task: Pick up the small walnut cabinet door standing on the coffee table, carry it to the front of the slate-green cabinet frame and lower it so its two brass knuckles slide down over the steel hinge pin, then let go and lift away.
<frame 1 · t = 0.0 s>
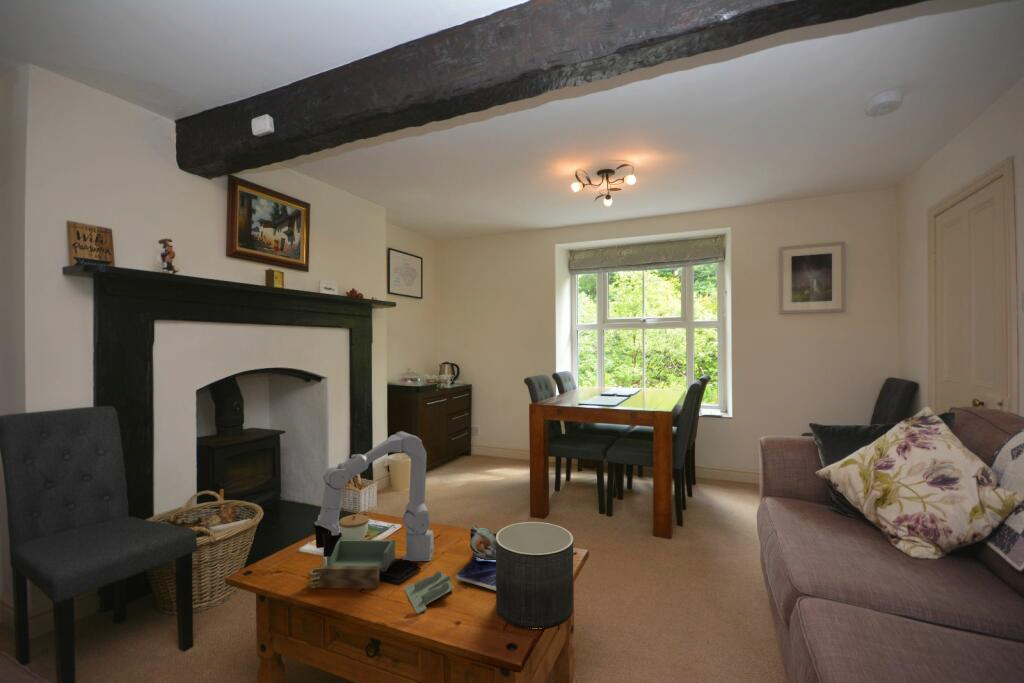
hand: (323, 551, 145), 11 cm above the table, tool pointing down, fingers open, 7 cm apart
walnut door: (349, 586, 144), on the table
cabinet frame: (361, 565, 158), on the table
lucky cat figurine: (489, 560, 162), on the table
planter: (534, 607, 133), on the table
lidded jar: (353, 540, 178), on the table
metal bracket: (430, 597, 139), on the table
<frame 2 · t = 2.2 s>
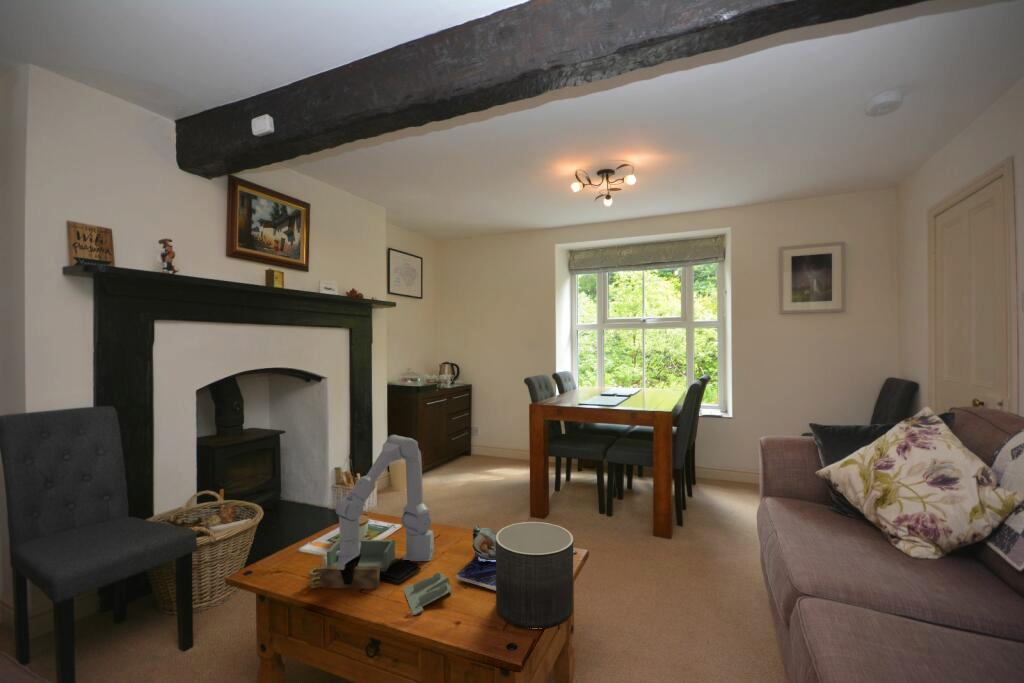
hand: (349, 581, 144), 1 cm above the table, tool pointing down, fingers closed on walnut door, 2 cm apart
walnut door: (349, 586, 144), on the table, touching gripper
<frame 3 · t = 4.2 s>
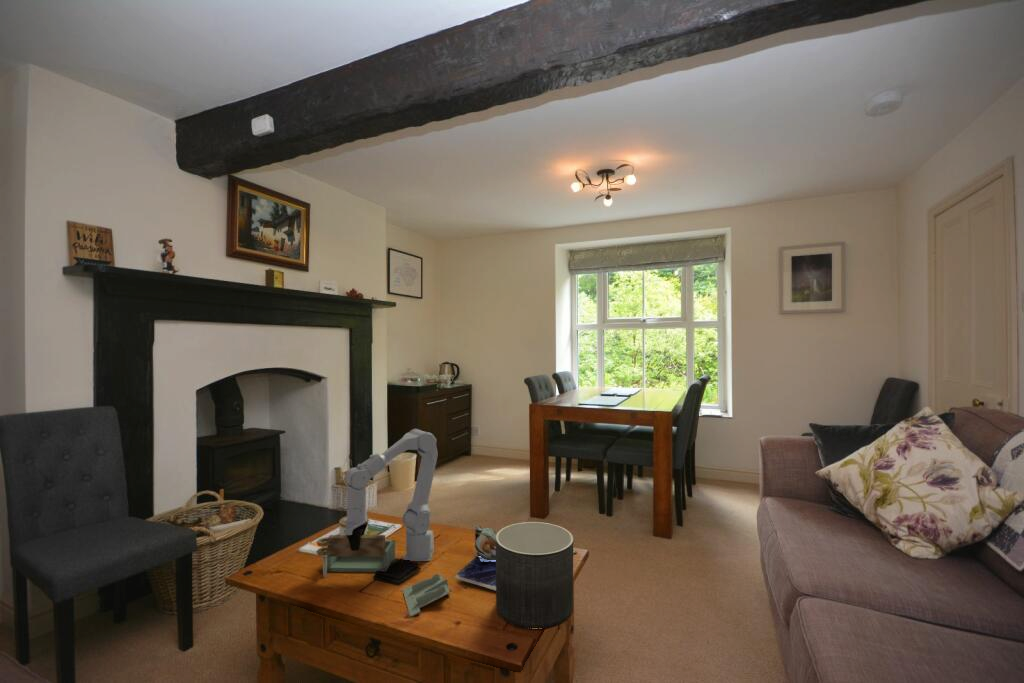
hand: (356, 548, 150), 9 cm above the table, tool pointing down, fingers closed on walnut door
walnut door: (356, 555, 150), point 7 cm above the table, touching gripper
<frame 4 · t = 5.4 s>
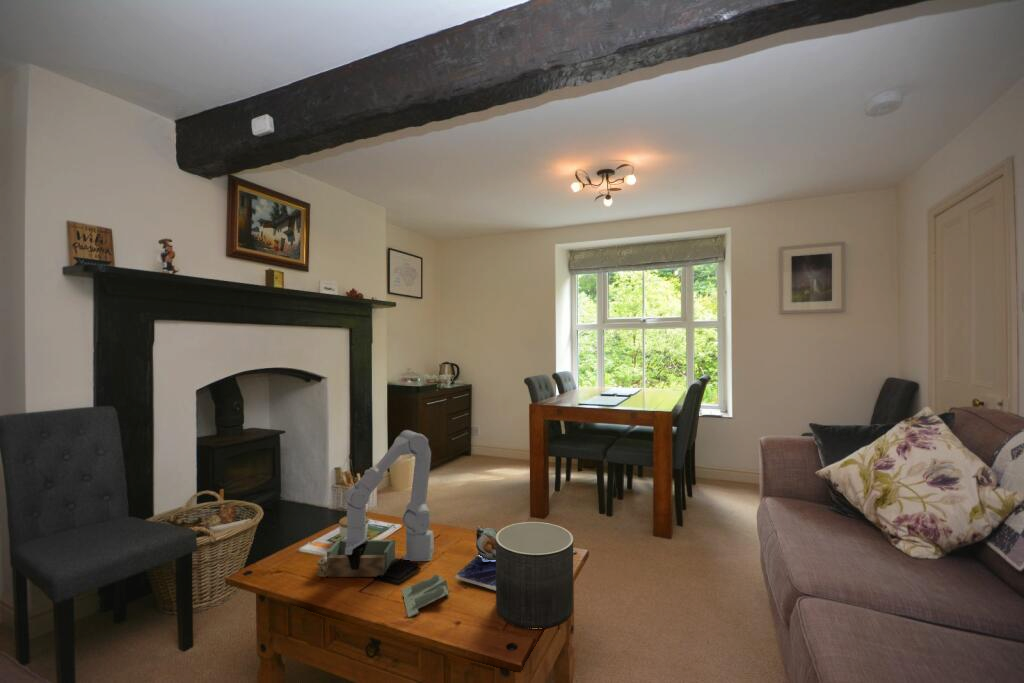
hand: (356, 567, 150), 3 cm above the table, tool pointing down, fingers closed on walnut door, 2 cm apart
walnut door: (356, 575, 150), on the table, touching gripper
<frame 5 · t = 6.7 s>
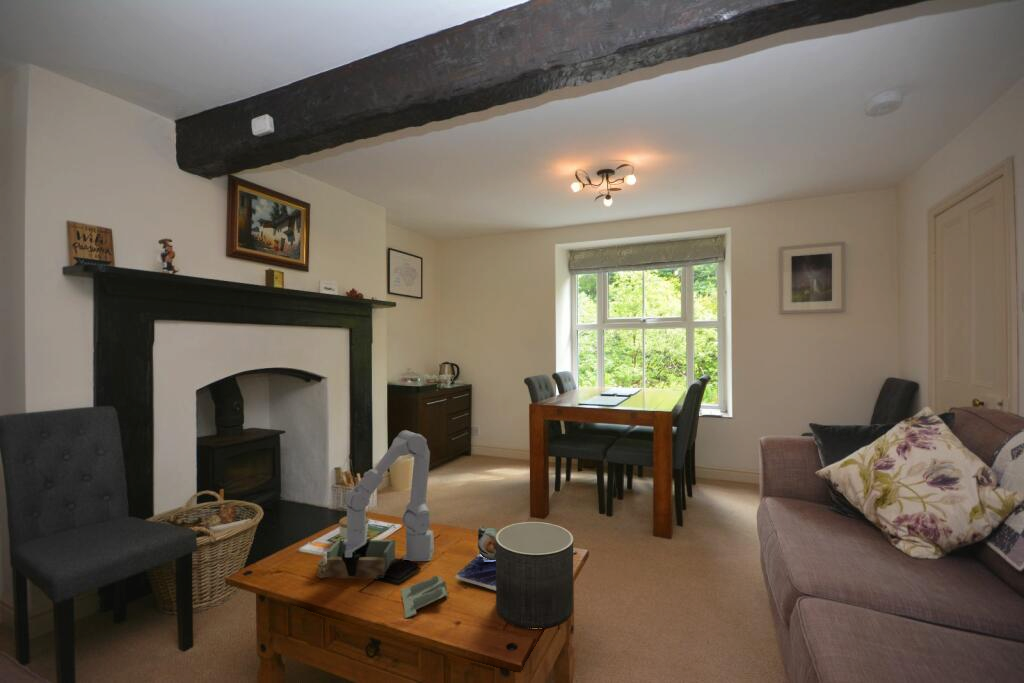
hand: (356, 569, 150), 2 cm above the table, tool pointing down, fingers open, 7 cm apart
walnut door: (356, 577, 150), on the table
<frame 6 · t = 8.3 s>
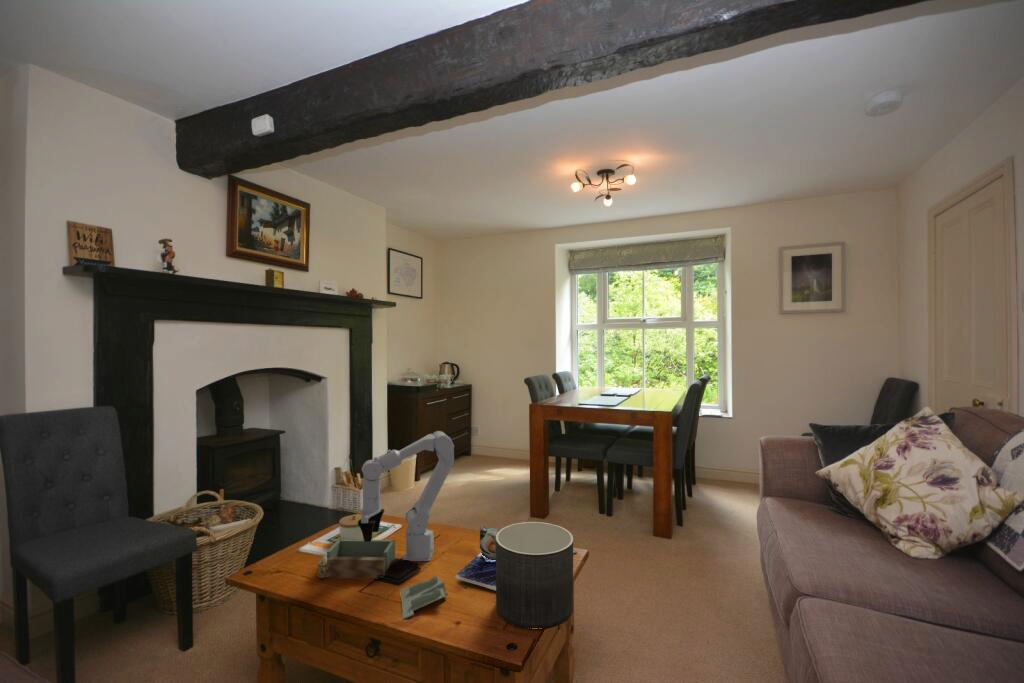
hand: (371, 536, 159), 9 cm above the table, tool pointing down, fingers open, 7 cm apart
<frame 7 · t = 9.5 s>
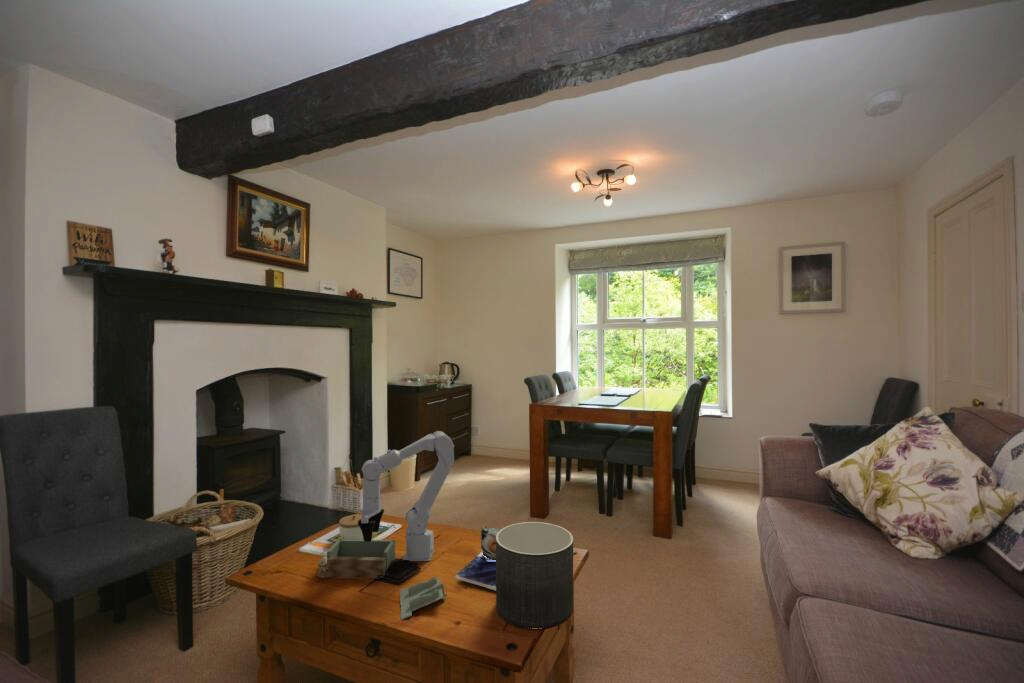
hand: (371, 536, 159), 9 cm above the table, tool pointing down, fingers open, 7 cm apart
at the end: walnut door 0.2 cm from the target spot on the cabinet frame, point 0.0 cm above the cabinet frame's base; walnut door tilted 0°; the gripper is holding nothing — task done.
